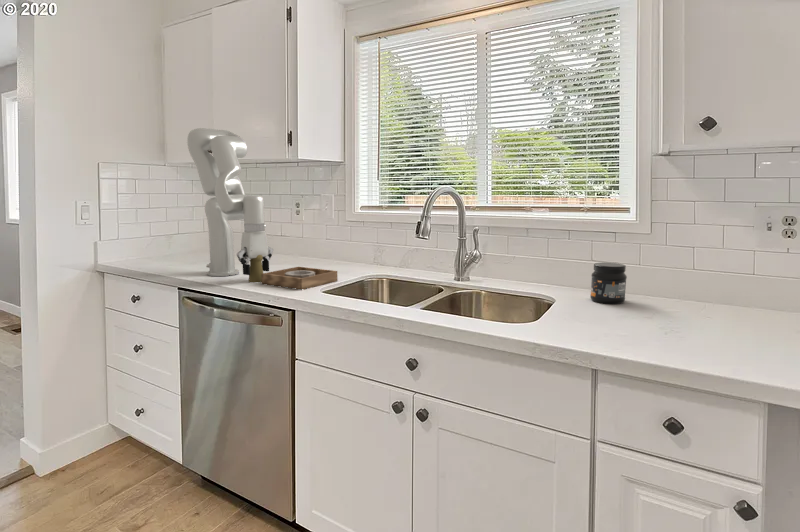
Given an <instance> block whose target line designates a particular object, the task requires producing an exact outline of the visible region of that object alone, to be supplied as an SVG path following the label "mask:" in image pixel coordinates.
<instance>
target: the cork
mask: <svg viewBox="0 0 800 532" xmlns="http://www.w3.org/2000/svg"><path fill="white" fill-rule="evenodd" d="M262 261H263V257H262V255H258V256H257V257H256V258H255V259H251V260H250V261H249V264H250V275H248V283H250V282H260V283H262V273H264V271H263V268H262Z"/></svg>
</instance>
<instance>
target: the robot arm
mask: <svg viewBox="0 0 800 532" xmlns="http://www.w3.org/2000/svg"><path fill="white" fill-rule="evenodd" d="M186 141H187V142H186V143H187V149H188V152H189V154H190V157H191V158H192V160H193V162H194V165H195V167H196V170H197V174H198V177H199V181H200V184H201V188H202V190H203V192H204V194H205V195H207V196H210V198H209V199H207V200H206V202H204V203H205V204H204V213H205V217H206V220H207V230H208V240H209V241H208V242H209V243H208V245H209V263H208V264H206V265H205V266H206V268H208V269H209V270H207V272H206V275H207V276H209V277H210V276H211V277H226V276H227V277H229V275H230V276H235V274H236V275H238V274H239V273H240V270H239V269H236V263H235V262H236V261H235V260H236V259H235V245H234V244H235V243H234V242H235V241H234V240H235V239H234V238H235V237H234V230H233V228H232V227H231V225H230V223H229V221H237V220H243V231H244V232H242V235H241V239H240V240H241V242H240V250H239V251H238V252H237V253H236V258H237V259H238V261H239V262H240V264H241V265H242V275H244V276H249V275H250V260H251V259H255V258H256V257H257V256H258V255H262V257H263V259H262V261H261V262H262V268H263V272H270V262H271V258H272V257H273V256H272V255H273V253H274V249H273V248H272V247H270V246H269V242H268V236H267V232H266V231H265V230H266V227H267V225H266V224H265V205H264V204H265V202H264V197H263V196H262V195H253V194H246V192H245V190H244V186H243V183H242V180H241V179H240V177H239V176H240V174H241V173H242V167H241V163H240V161H239V159H242V158H245V157H246V156H247V155H248V144H247V142H246V141H245V139H244V138H243V137H241V136H240V135H238V134H237V133H236V134H235V133H233V132H232V131H229V130H227V129H226V130H225V129H215V128H201V127H200V128H194V129H192V130H190V131H189V132H188V134H187V140H186ZM209 151H211V153H212V154H211V153H210V152H209Z"/></svg>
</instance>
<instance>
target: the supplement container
mask: <svg viewBox="0 0 800 532" xmlns="http://www.w3.org/2000/svg"><path fill="white" fill-rule="evenodd" d="M626 268H627V267H626V265H625V264H623V263H618V262H617V263H616V262H595V263H594V264H593V272H592V273H591V286H590V300H591V301H593V302H595V303H599V304H605V305H618V304H619V305H620V304H623V303H624V302H625V301H626V286H627V279H628V276H627V274H626V273H625V272H626V271H627V269H626Z"/></svg>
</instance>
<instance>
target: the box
mask: <svg viewBox="0 0 800 532" xmlns="http://www.w3.org/2000/svg"><path fill="white" fill-rule="evenodd" d="M335 282H336V283H337V282H338V270H333V269H331V270H330V269H322V268H316V267H315V268H313V267H307V266H305V267H304V266H294V267H289V268H283V269H278V270H274V271H267V272H263V273H262V282H261V285H264V284H267V285H266V286H271V285H274V286H273V287H278V286H281V287H280V288H285V287H288V288H287V289H292V288H296V289H295V290H298V289H304V290H307V289H306V288H308V289H311V288H316V287H319V286H320V287H321V286H324V285H327V284H332V283H335Z"/></svg>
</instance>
